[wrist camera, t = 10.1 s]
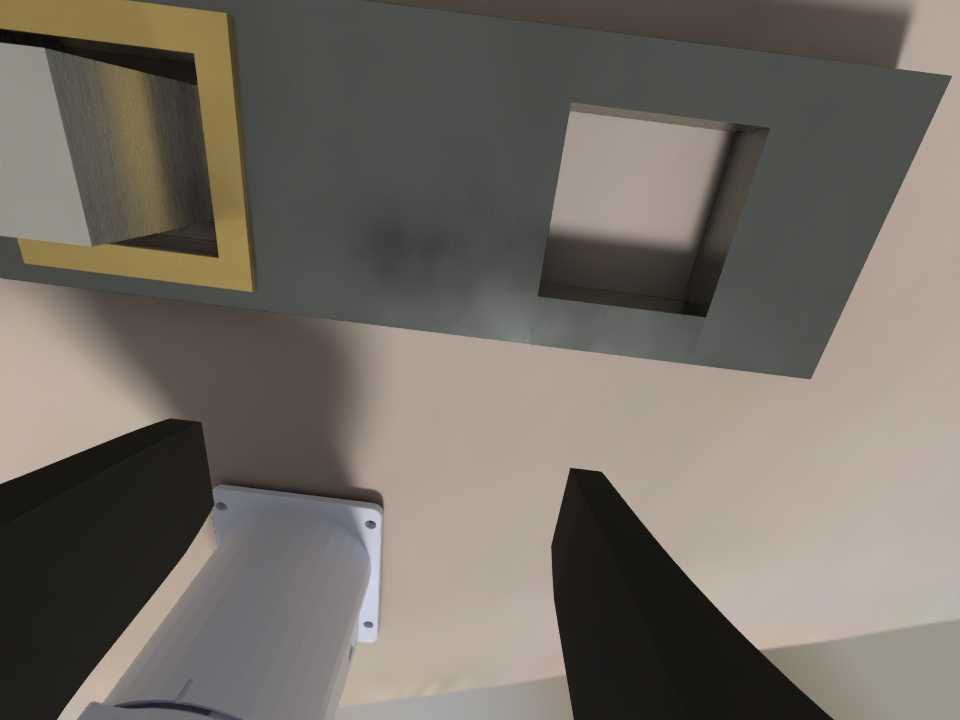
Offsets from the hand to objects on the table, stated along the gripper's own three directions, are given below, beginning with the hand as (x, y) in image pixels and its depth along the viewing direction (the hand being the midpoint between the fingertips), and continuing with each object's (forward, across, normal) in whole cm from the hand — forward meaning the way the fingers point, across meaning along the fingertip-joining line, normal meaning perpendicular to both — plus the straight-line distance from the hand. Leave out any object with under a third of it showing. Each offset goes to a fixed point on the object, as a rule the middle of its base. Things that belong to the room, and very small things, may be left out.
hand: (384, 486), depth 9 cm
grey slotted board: (+9, +2, -5) cm, 11 cm away
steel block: (+10, +10, -5) cm, 15 cm away
